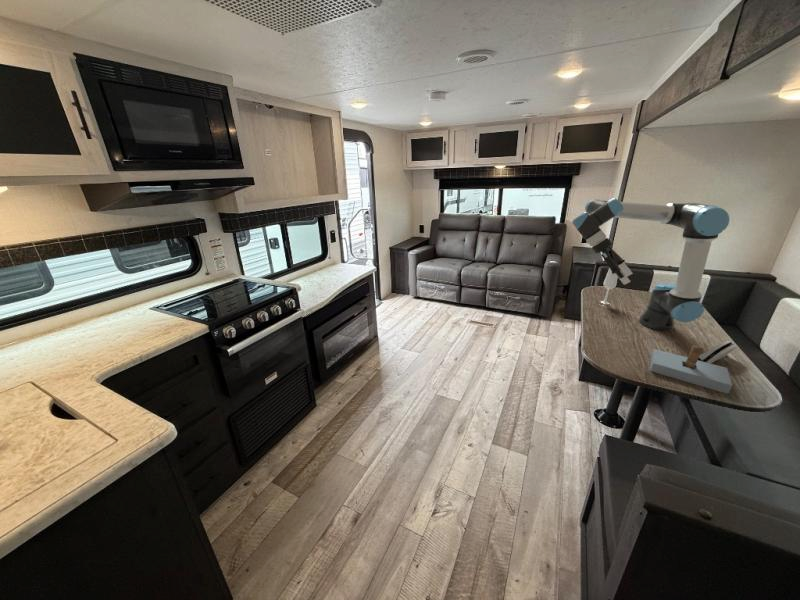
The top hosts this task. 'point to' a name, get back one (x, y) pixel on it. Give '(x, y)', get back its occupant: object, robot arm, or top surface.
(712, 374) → the hole block
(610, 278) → the champagne flute
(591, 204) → the robot arm
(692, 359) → the peg
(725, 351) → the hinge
